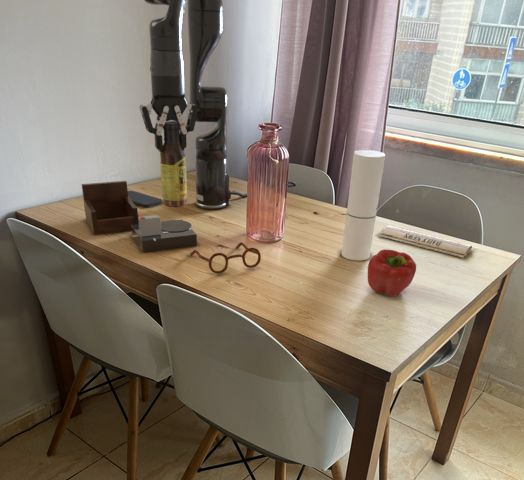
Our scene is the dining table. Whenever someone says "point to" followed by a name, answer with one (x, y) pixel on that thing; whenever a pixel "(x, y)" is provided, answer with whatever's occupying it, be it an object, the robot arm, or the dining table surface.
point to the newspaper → (426, 241)
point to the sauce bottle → (173, 167)
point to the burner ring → (175, 225)
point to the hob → (164, 239)
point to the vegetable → (390, 272)
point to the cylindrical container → (362, 204)
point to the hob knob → (149, 225)
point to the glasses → (230, 257)
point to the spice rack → (109, 207)
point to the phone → (143, 199)
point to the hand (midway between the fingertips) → (171, 150)
